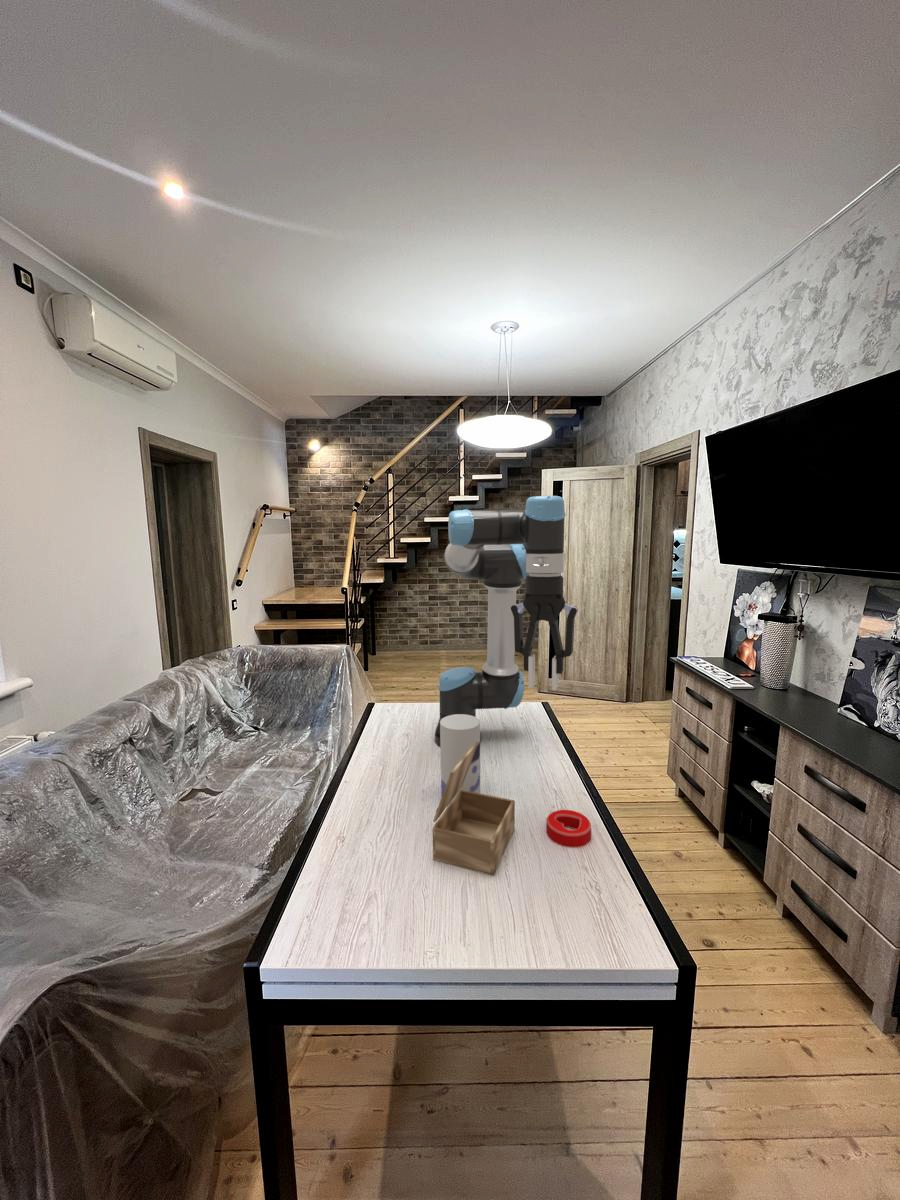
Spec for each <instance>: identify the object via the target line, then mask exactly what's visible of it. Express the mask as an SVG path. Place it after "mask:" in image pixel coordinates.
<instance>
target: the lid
mask: <svg viewBox="0 0 900 1200" xmlns="http://www.w3.org/2000/svg"><path fill="white" fill-rule="evenodd" d="M478 743H479V742H478V741H476V742H475V744H474V745H473V746H472V747H471V748H470V750H469V751H468V752H467V753H466V754H465V756H464V757H463V758H462V759H461V760H460V762H459V763H458V764H457V765H456V766H455V768H454V769H453V770H452V771H451V773H450V776H449V779H448V781H447V784H446V787H445V790H444V792H443V795H442V796H441V799H440V801H439V804H438V806H437V807H436V810H435V814H434V816H433V817H434V818H433V820H432V822H434V823H436V822H437V821H438V820H439V818H440V817H441V816H442V814H443V813H444V812H445V810H446V809H447V808H448V806H449V805H450V804H449V803H450V802H451V800H452V799H453V798H454V796H455V795H456V794H457V792H458V791H459V790H460V788H461V787H462V785H463V782H464V780H465V777H466V774H467V772H468V769H469V766H470V764H471V761H472V759H473V756H474V753H475V751H476V748H477V745H478Z"/></svg>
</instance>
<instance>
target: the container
mask: <svg viewBox="0 0 900 1200" xmlns="http://www.w3.org/2000/svg"><path fill="white" fill-rule="evenodd" d="M480 731H481V721H480V719H479V718H478V717H474V716H471V715H465V714H455V715H449V716H446V717H444V718H442V719H441V721H440V746H439V747H440V786H441V788H440V790H441V797H442V795H443V792H444V790H445V787H446V784H447V781H448V779H449V776H450V773H451V771H452V770H453V769H454V768H455V766H456V765H457V764H458V763H459V762H460V760H461V759H462V758H463V757H464V756H465V754H466V753H467V752H468V751H469V750H470V748H471V747H472V746H473V745H474V744H475V742H476V741H478V742H479V743H478V745H477V748H476V751H475V753H474V756H473V759H472V761H471V764H470V766H469V769H468V772H467V774H466V777H465V780H464V782H463V785H462V787H461V788H460V790H465V791H470V792H475V793H480V794H481V742H480ZM460 790H459V791H460ZM459 791H458V792H457V794H458V793H459ZM457 794H456V795H457ZM456 795H455V796H454V798H455V797H456ZM454 798H453V799H454ZM453 799H452V800H451V802H452V801H453ZM451 802H450V803H451ZM450 803H449V804H448V805H450Z"/></svg>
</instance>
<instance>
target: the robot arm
mask: <svg viewBox="0 0 900 1200" xmlns="http://www.w3.org/2000/svg"><path fill="white" fill-rule="evenodd" d="M565 518H566V512H565V500H564V498H563V497H561V496H558V495H538V496H536V495H534V496H530V497H528V498H527V499H526V502H525V508H523V509H521V508H520V509H467V508H465V509H461V510H460V509H459V510H452V511H450V512H449V514H448V521H447V523H448V525H447V526H448V527H447V529H448V541H449V543H448V544H447V546H446V548H445V551H444V554H443V555H444V556H443V557H444V558H443V559H444V563H445V565H446V567H447V568H448V570H449V571H451V572H452V574H455V575H457V576H458V577H461V578H463V579H468V580H480V581H481V580H482V581H483V586H484V587H485V589H487V591H488V592H487V593H488V594H487V641H486V642H487V643H486V646H487V648H486V649H487V650H486V656H487V657H486V662H485V663H484V664H483V665H482V668H481V670H482V671H481V672H480V671H479V672H477V671H476V670H475V668H473V667H470V666H457V667H452V668H449V669H447V670H445V671H443V672H442V673H441V674H440V676H439V681H438V691H439V718H438V722H437V724H436V729H435V732H434V742H435V744H436V745H437V746H439V747H440V721H441V719H442V718H444V717H446V716H449V715H455V714H465V715H471V716H474V717H476V712H477V711H476V710H487V709H488V710H489V709H493V710H494V709H509V708H517V707H518V706H520V704H521V702H522V700H523V696H524V691H525V685H524V683H525V677H524V673H523V672H522V671H521V670H520V668H519V666H518V665H517V664H516V663H515V653H518V654H521V655H522V656H523V670H524V671H525V672H527V673H528V682H527V683H528V685H527V687H528V689H533V687H534V686H535V683H536V654H535V653H532V652H533V646H534V643H535V639H536V635H537V634H536V633H537V629H538V624H539V621H544V622H548V625H549V629H550V633H551V638H552V644H553V649H554V654H555V655H554V656H553V657H552V659H551V691H557V689H558V688H559V675H562V673H563V671H564V660H565V659H564V658H566V657H571V655H572V654H573V652H574V639H575V621H576V620H575V619H576V617H577V614H578V611H579V607H578V606H576V605H575V606H572V605H570V604H568V603H567V602H566V600H565V598H564V577H563V575H561V574H563V573H564V572H565V571H564V570H565V569H564V568H565V567H564V565H565V563H564V562H565V553H564V552H565V549H564V548H565ZM524 545H525V546H524ZM523 580H524V581H525V582H524V583H525V587H524V588H525V590H524V591H525V592H524V593H525V594H524V598H523V600H522V602H520V603H517V591H518V590H519V588H521V587H522V585H523ZM524 608H525V610H526V611H527V613H528V615H529V617H530V620H529V623H528V624H529V626H528V629H527V634H526V638H525V639H526V640H525V642H524V628H523V627H524V626H523V625H524V623H523V613H524V612H525V611H524ZM563 610H564V611H565V612H564V615H565V616H566V623H565V624H566V627H565V644H564V645H565V649H564V647H563V642H562V636H561V632H560V626H559V619H558V616H559V615H560V613H562V611H563ZM524 643H525V644H524ZM476 718H477V717H476ZM481 742H482V731H481V730H480V743H481Z"/></svg>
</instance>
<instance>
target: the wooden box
mask: <svg viewBox="0 0 900 1200" xmlns="http://www.w3.org/2000/svg"><path fill="white" fill-rule="evenodd" d="M515 804H516V800H513V799H510V798H504V797H498V796H493V795H489V794H484V793H481V792H480V793H475V792H470V791H465V790H460V791H459V793H458V794H457V795H456V797H455V798H454V799H453V801H452V802H451V803H450V804H448V806H447V807H446V808H445V810H444V811H443V813H442V814H441V815H440V817H439V818H438V819H437V821H436V822H435V824H434V825H433V826H432V830H431V832H432V834H431V835H432V860H433V861H437V862H441V863H444V864H447V865H452V866H455V867H459V868H463V869H467V870H472V871H473V872H478V873H482V874H485V875H489V876H493V877H494V876H495V874H496V871H497V869H498V867H499V865H500V863H501V860H502V858H503V856H504V853H505V851H506V849H507V847H508V845H509V843H510V841H511V838H512V836H513V834H514V833H515V830H516V829H515V828H516V826H515V823H516V822H515V821H516V818H515V817H516V815H515V814H516V813H515V812H516V807H515V806H516V805H515Z"/></svg>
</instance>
